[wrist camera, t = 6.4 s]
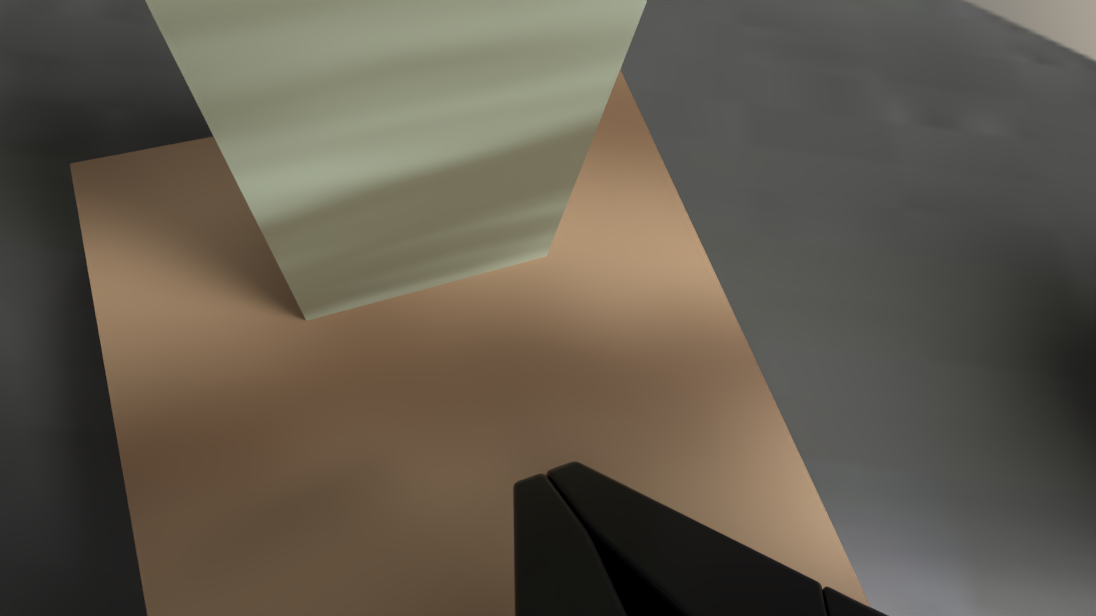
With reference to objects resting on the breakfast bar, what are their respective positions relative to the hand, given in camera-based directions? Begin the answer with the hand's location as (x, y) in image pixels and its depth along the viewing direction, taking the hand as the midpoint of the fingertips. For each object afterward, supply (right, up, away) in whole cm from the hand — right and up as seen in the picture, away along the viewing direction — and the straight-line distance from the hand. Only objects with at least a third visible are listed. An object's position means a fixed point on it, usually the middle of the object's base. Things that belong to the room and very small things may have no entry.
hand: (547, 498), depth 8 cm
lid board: (-2, 0, +5) cm, 6 cm away
